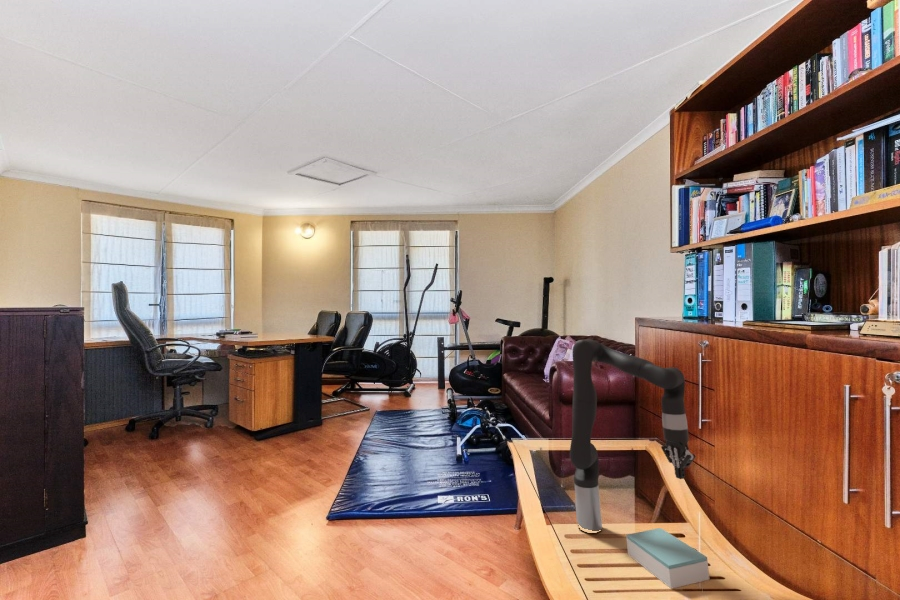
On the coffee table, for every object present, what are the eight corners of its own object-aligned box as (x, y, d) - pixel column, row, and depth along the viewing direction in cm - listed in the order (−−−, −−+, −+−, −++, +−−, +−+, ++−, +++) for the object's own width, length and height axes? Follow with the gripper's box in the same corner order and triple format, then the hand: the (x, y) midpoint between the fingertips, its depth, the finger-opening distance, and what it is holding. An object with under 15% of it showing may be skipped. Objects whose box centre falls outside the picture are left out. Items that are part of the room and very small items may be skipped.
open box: (628, 554, 138) (626, 538, 138) (662, 547, 141) (660, 531, 141) (671, 588, 119) (669, 569, 119) (709, 579, 122) (707, 560, 122)
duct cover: (626, 537, 138) (626, 534, 138) (660, 530, 141) (660, 527, 141) (669, 569, 119) (668, 565, 119) (707, 560, 122) (707, 557, 123)
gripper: (700, 429, 130) (705, 483, 129) (669, 421, 143) (674, 470, 141) (681, 431, 128) (686, 486, 127) (651, 423, 141) (656, 473, 140)
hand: (680, 478), depth 134 cm, fingers closed
